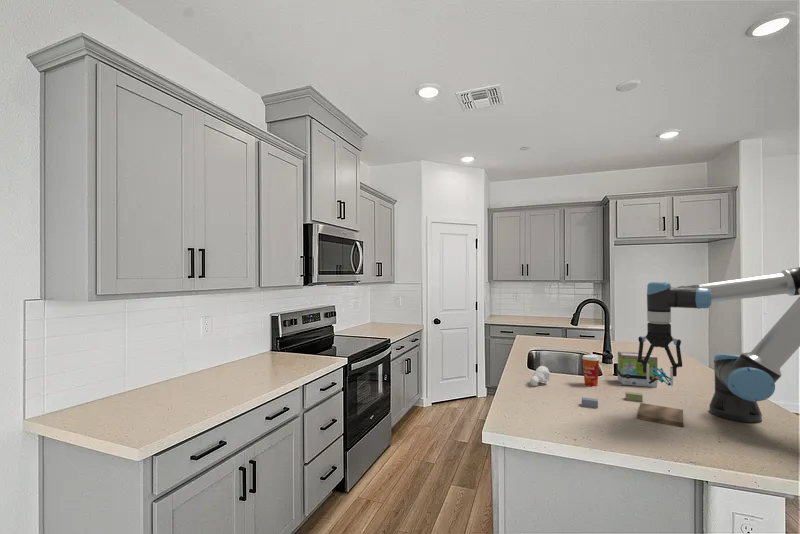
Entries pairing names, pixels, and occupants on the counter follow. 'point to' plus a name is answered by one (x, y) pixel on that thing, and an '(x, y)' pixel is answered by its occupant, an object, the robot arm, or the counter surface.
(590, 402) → the slate grey block
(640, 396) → the olive block
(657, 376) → the stick construction toy
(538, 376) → the white lumpy piece
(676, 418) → the walnut board
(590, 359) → the paper cup
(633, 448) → the counter surface
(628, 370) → the tea box
